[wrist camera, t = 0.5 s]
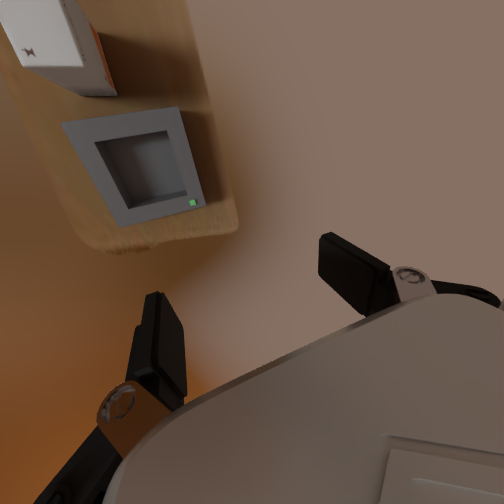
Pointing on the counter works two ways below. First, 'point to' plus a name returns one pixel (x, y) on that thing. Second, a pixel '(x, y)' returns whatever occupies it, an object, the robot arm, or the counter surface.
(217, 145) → the counter surface
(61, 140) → the counter surface
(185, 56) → the counter surface
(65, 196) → the counter surface
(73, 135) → the port block
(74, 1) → the skincare box
